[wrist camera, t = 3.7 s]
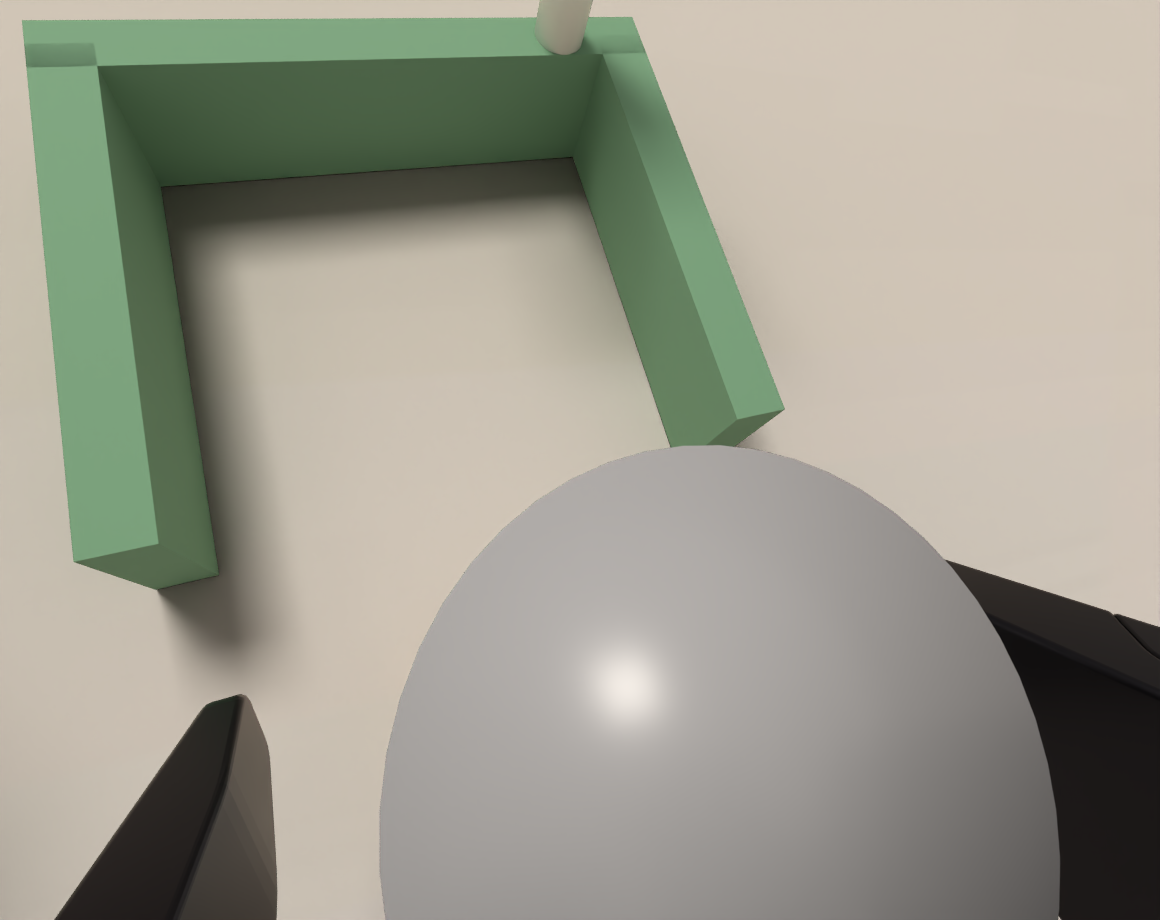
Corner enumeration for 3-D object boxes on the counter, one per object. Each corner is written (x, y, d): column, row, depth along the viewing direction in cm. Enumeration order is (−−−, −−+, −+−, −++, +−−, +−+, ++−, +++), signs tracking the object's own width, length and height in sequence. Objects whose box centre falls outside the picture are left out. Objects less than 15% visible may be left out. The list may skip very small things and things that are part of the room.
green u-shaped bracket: (718, 458, 18) (1083, 187, 8) (155, 589, 14) (-494, 370, 4) (598, 122, 20) (761, -386, 11) (100, 150, 16) (-364, -617, 7)
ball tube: (620, 600, 16) (977, 458, 6) (630, 824, 14) (1142, 1177, 4) (414, 601, 15) (401, 428, 5) (403, 843, 13) (345, 1377, 3)
